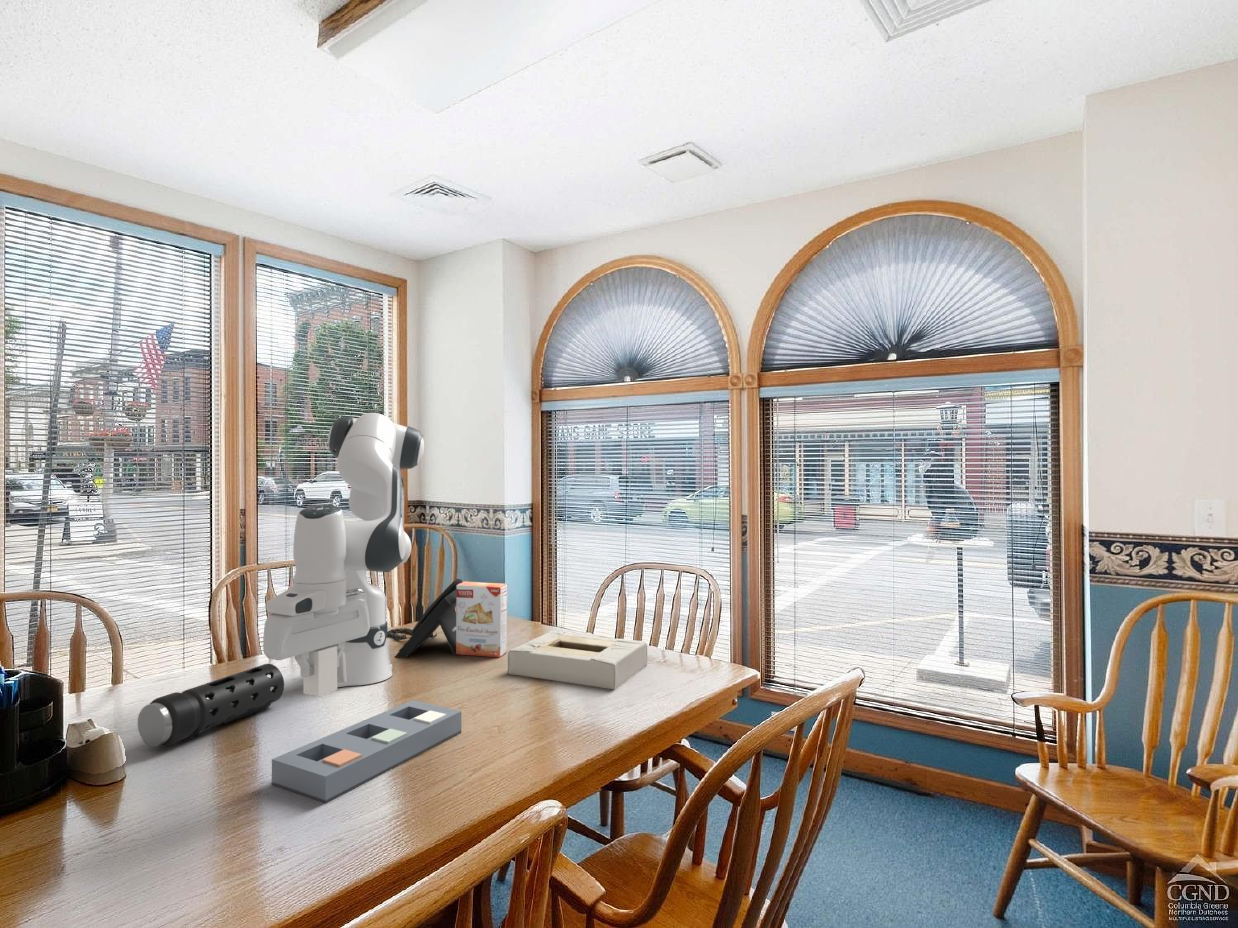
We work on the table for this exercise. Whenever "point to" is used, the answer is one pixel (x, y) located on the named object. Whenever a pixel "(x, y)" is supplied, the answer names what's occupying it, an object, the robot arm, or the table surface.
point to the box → (578, 659)
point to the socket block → (364, 750)
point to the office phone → (432, 623)
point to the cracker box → (481, 619)
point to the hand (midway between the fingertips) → (320, 671)
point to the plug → (322, 672)
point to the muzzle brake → (209, 705)
